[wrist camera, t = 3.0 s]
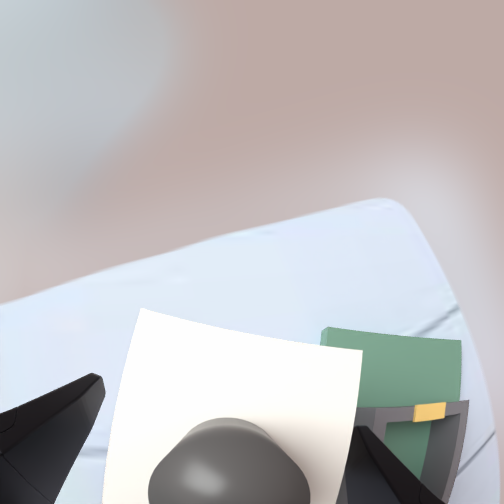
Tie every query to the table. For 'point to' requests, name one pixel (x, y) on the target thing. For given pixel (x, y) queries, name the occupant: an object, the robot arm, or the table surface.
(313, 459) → the plug block
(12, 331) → the table surface
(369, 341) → the header board
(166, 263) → the table surface
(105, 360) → the table surface
